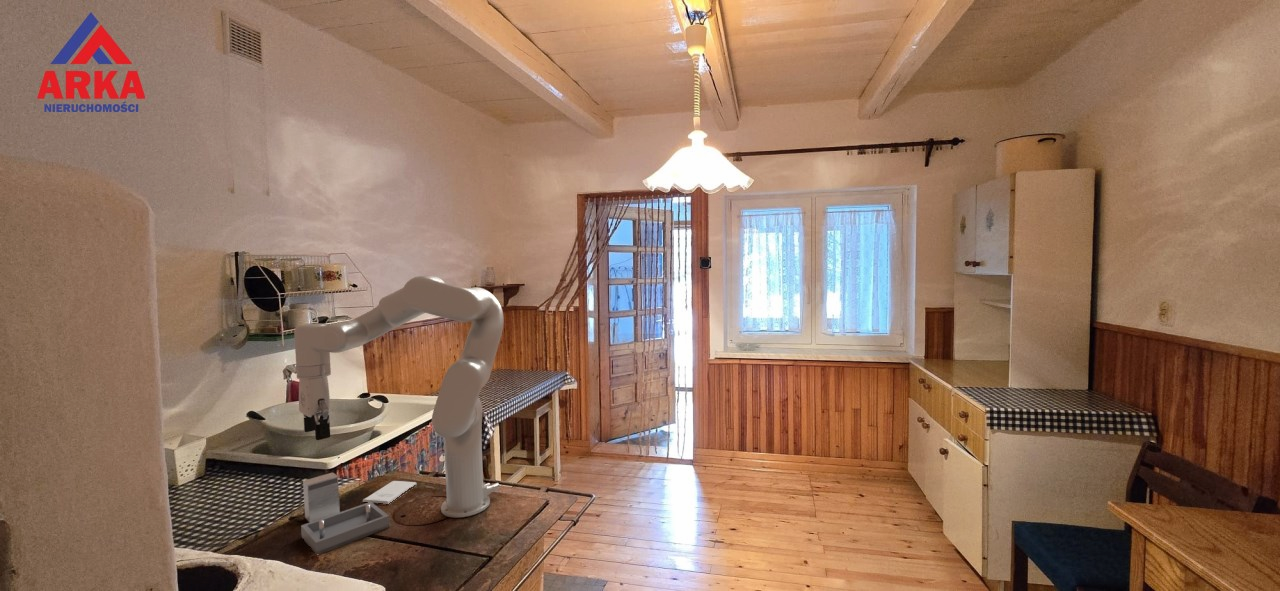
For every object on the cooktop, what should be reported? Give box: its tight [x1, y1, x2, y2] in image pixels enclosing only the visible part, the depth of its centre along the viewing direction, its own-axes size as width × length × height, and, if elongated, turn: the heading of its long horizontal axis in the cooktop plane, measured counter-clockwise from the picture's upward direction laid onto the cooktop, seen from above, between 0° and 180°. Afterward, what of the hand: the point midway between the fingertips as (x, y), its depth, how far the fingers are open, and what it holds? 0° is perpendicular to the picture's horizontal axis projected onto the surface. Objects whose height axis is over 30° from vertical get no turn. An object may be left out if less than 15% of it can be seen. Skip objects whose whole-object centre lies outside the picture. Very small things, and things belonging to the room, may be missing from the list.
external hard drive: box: [362, 480, 417, 505], centre depth 145 cm, size 2×8×12 cm
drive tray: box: [300, 502, 391, 556], centre depth 124 cm, size 16×12×5 cm
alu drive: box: [302, 472, 341, 523], centre depth 133 cm, size 7×4×10 cm, turn 138°
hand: (317, 434), depth 132 cm, fingers open, 9 cm apart
